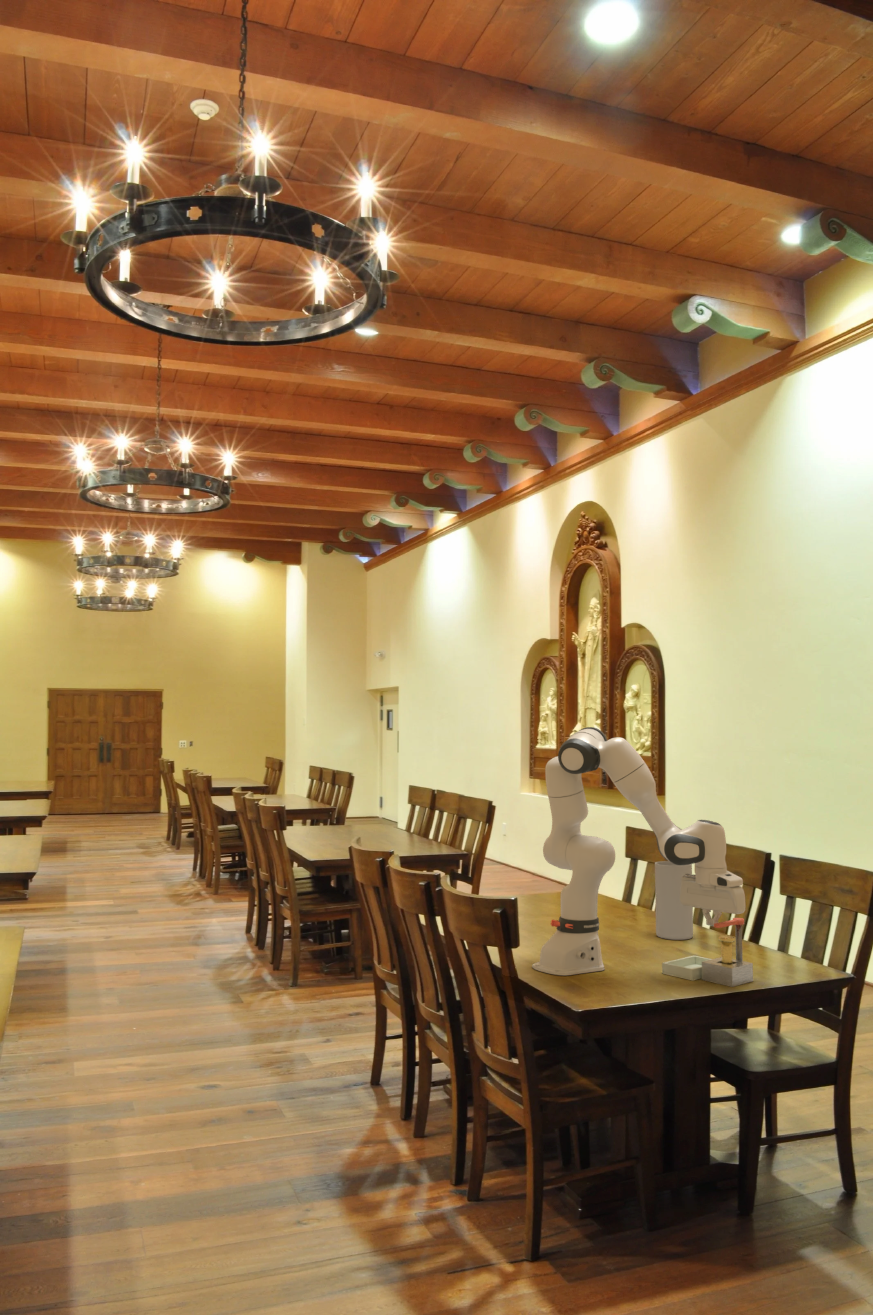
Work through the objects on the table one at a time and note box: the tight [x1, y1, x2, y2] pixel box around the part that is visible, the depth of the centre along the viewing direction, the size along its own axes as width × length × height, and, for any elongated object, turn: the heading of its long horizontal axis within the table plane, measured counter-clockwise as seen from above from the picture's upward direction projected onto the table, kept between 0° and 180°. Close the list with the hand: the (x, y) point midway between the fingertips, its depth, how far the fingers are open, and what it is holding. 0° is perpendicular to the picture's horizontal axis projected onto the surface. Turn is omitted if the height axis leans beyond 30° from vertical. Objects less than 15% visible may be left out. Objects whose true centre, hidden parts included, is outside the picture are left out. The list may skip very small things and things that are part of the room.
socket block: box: [701, 925, 754, 988], centre depth 276 cm, size 12×10×15 cm
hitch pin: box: [718, 935, 736, 965], centre depth 276 cm, size 4×4×12 cm
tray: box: [661, 955, 712, 981], centre depth 284 cm, size 16×11×3 cm
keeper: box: [713, 917, 745, 929], centre depth 277 cm, size 12×3×1 cm, turn 129°
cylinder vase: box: [654, 860, 694, 941], centre depth 336 cm, size 12×12×25 cm
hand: (712, 925), depth 279 cm, fingers closed
